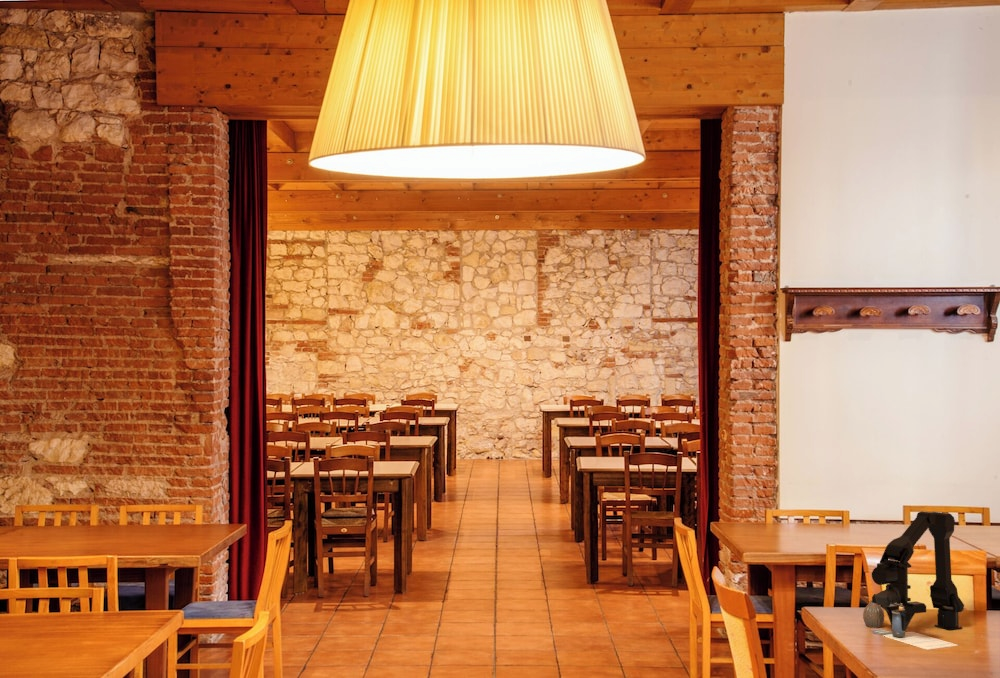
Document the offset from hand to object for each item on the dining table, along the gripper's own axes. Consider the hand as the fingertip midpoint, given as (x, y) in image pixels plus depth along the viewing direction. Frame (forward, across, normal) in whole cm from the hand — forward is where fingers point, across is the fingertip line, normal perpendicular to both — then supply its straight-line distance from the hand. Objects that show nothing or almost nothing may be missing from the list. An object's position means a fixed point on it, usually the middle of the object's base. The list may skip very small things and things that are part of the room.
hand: (898, 629), depth 344 cm
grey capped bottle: (+2, 0, 0) cm, 2 cm away
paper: (+3, +6, +4) cm, 7 cm away
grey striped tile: (+3, -8, 0) cm, 8 cm away
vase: (+3, -16, +4) cm, 16 cm away
